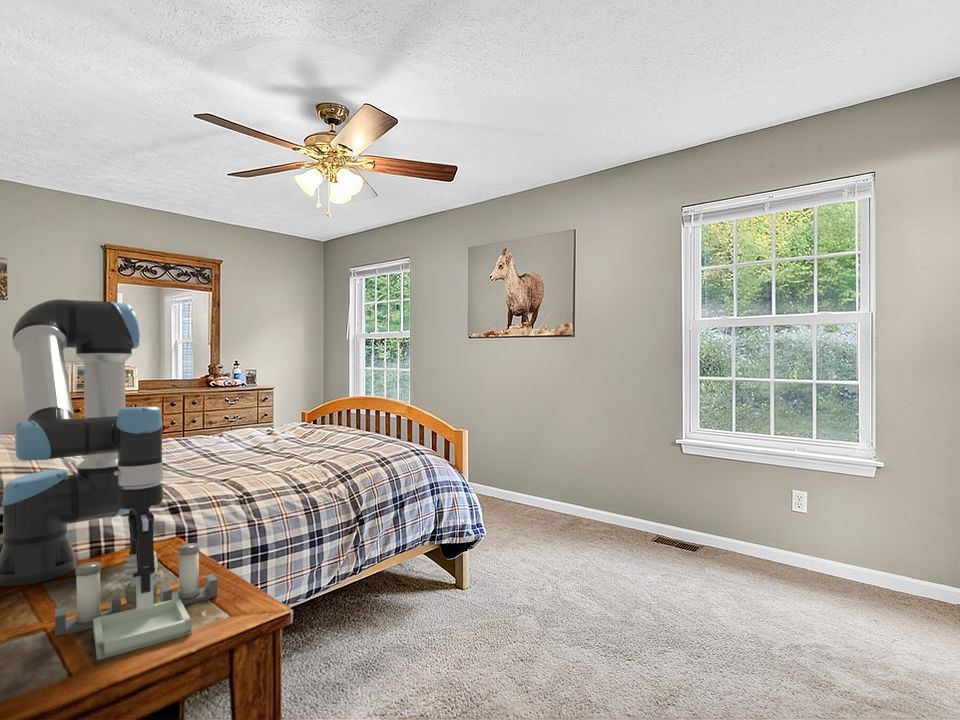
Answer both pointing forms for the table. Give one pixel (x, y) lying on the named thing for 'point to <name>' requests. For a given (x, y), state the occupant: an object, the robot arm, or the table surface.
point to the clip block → (115, 606)
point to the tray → (140, 628)
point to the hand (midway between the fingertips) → (142, 600)
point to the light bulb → (132, 569)
